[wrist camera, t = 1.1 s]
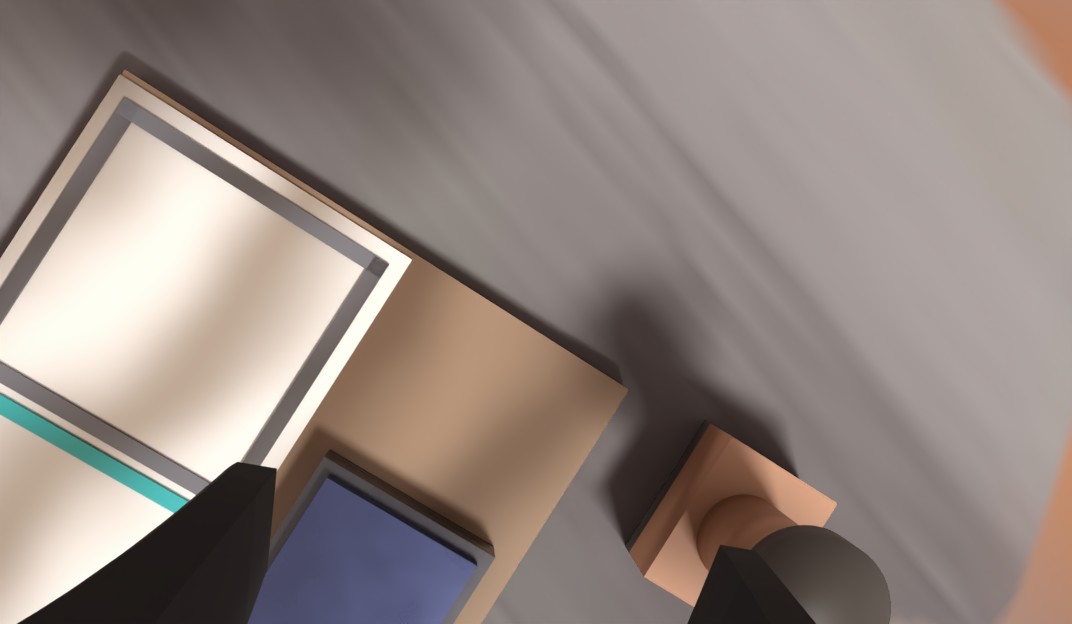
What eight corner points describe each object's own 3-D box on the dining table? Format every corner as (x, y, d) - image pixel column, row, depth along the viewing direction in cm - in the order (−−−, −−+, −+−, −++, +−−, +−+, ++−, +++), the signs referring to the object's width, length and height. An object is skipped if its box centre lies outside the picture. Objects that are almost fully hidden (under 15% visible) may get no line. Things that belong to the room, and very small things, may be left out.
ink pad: (493, 545, 24) (495, 561, 23) (375, 733, 24) (370, 759, 23) (330, 448, 23) (322, 459, 22) (207, 641, 23) (192, 662, 22)
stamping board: (623, 386, 25) (630, 390, 24) (296, 900, 25) (290, 927, 24) (136, 76, 23) (122, 67, 22) (-225, 633, 23) (-256, 649, 22)
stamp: (704, 420, 25) (808, 482, 18) (799, 480, 26) (940, 566, 18) (625, 545, 25) (695, 661, 18) (721, 604, 26) (830, 740, 18)
